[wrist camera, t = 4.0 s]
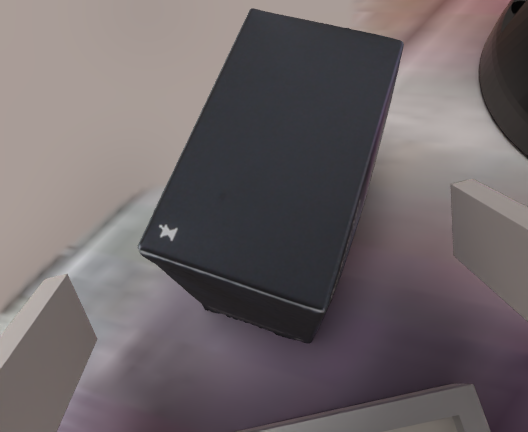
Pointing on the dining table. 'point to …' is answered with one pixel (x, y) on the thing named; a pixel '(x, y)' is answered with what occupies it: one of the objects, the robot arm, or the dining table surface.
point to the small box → (276, 172)
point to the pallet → (398, 414)
